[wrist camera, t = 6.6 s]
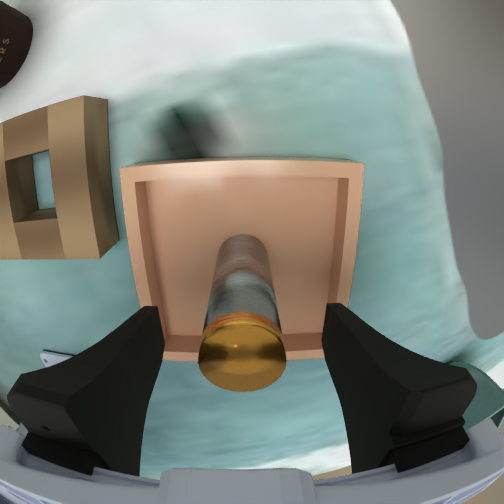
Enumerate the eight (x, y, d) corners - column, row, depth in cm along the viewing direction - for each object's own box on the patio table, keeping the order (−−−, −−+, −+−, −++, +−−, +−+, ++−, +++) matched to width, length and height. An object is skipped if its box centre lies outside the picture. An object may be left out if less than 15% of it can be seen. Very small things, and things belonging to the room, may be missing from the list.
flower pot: (399, 421, 27) (423, 481, 19) (393, 380, 24) (428, 453, 16) (462, 386, 26) (494, 439, 17) (467, 339, 23) (514, 398, 14)
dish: (330, 335, 21) (338, 356, 19) (160, 338, 21) (153, 359, 19) (348, 159, 16) (363, 163, 14) (134, 163, 16) (119, 168, 14)
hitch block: (119, 240, 18) (100, 258, 15) (23, 243, 18) (0, 259, 15) (107, 99, 14) (83, 95, 12) (7, 128, 14) (-19, 131, 12)
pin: (271, 275, 18) (290, 385, 10) (223, 283, 19) (210, 395, 10) (263, 230, 17) (281, 322, 9) (213, 238, 17) (187, 335, 9)
